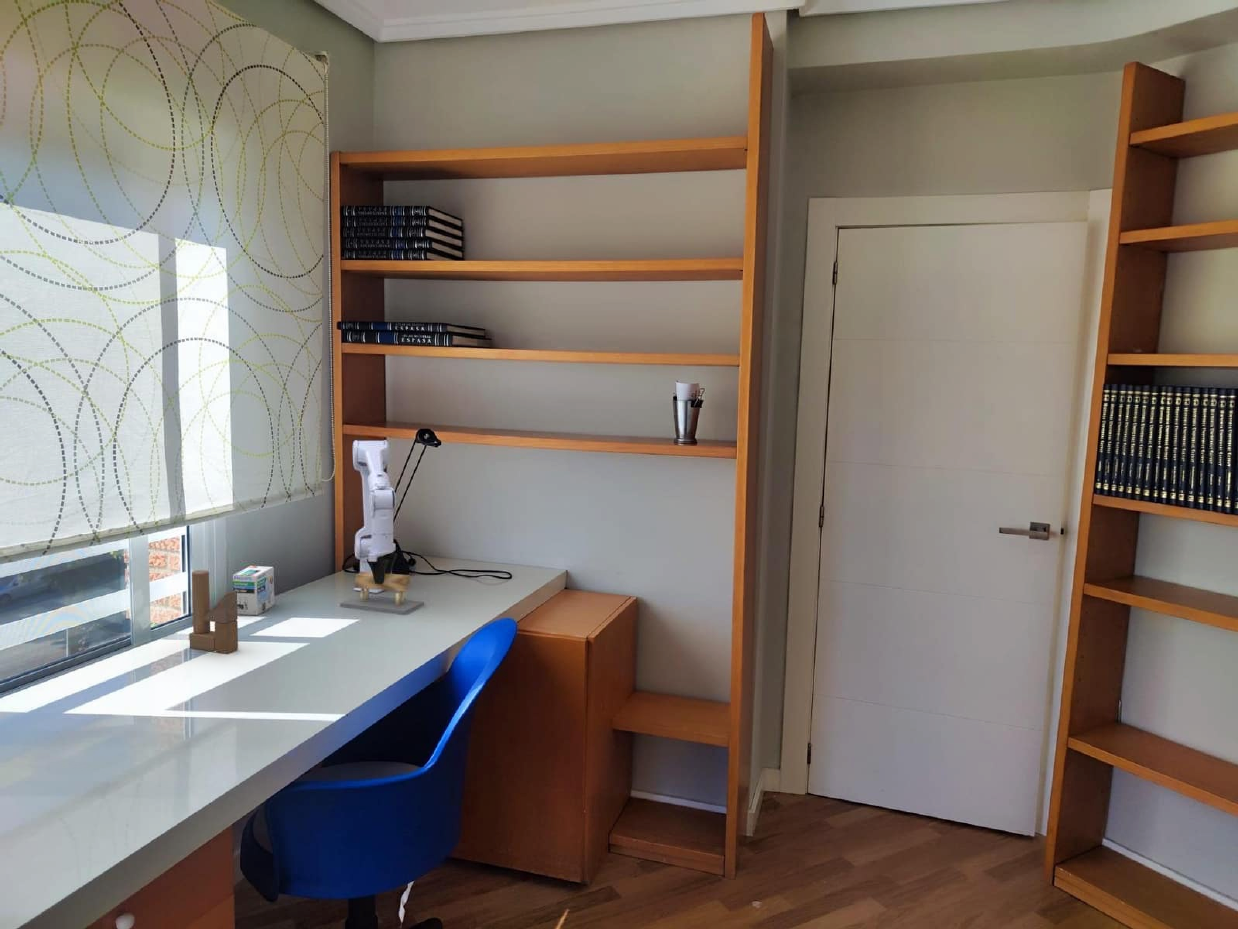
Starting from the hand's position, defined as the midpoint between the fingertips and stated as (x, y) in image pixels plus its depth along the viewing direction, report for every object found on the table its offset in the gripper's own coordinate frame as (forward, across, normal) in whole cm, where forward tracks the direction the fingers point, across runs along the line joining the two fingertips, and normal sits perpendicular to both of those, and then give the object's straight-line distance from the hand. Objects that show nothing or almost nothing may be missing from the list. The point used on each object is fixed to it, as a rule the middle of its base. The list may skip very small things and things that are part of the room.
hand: (382, 581), depth 234 cm
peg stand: (+7, 0, 0) cm, 7 cm away
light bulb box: (+7, +10, -31) cm, 34 cm away
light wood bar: (+2, 0, 0) cm, 2 cm away
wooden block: (+7, +41, -24) cm, 48 cm away
